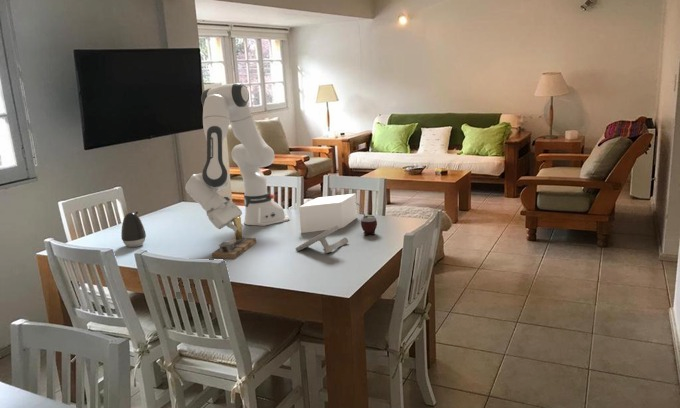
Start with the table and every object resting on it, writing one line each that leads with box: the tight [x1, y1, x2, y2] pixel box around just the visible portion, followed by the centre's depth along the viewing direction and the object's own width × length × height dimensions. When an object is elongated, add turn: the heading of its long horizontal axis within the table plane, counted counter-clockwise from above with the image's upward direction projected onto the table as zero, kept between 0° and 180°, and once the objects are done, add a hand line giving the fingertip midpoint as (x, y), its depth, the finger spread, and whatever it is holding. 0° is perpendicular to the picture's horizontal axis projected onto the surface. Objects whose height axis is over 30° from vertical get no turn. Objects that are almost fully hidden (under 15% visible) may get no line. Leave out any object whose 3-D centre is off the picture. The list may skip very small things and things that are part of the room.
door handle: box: [295, 225, 349, 254], centre depth 233 cm, size 18×8×20 cm
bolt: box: [232, 216, 245, 246], centre depth 239 cm, size 10×3×10 cm, turn 166°
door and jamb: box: [211, 237, 257, 260], centre depth 238 cm, size 22×10×5 cm, turn 166°
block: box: [298, 193, 358, 234], centre depth 269 cm, size 18×35×12 cm, turn 131°
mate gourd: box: [355, 201, 378, 237], centre depth 249 cm, size 8×8×15 cm
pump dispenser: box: [121, 211, 147, 248], centre depth 251 cm, size 10×10×15 cm
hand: (239, 228), depth 241 cm, fingers closed on bolt, 3 cm apart
